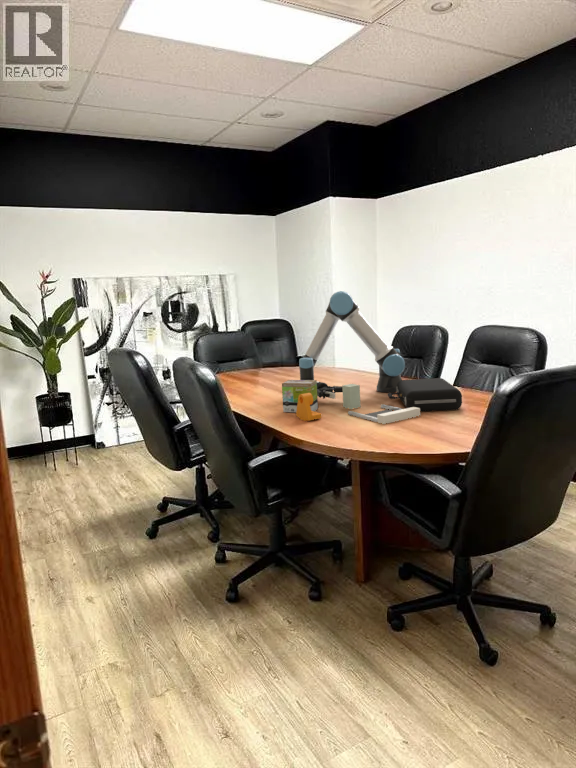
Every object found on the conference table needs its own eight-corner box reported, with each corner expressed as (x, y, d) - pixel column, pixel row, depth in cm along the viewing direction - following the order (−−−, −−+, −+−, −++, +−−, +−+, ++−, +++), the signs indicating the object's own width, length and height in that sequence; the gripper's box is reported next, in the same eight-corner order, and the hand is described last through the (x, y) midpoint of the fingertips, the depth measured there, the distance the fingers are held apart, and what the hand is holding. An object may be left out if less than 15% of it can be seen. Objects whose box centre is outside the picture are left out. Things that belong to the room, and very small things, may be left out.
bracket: (322, 419, 245) (320, 393, 243) (308, 422, 241) (307, 395, 239) (310, 415, 254) (308, 390, 252) (296, 418, 251) (295, 392, 249)
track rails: (383, 407, 262) (383, 404, 261) (413, 414, 244) (413, 411, 243) (348, 414, 251) (347, 411, 251) (377, 422, 233) (377, 419, 233)
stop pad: (387, 410, 255) (387, 409, 255) (409, 415, 242) (409, 414, 242) (360, 415, 247) (360, 415, 247) (382, 421, 235) (381, 420, 235)
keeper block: (353, 405, 270) (352, 383, 268) (360, 407, 265) (359, 385, 263) (343, 407, 267) (342, 385, 265) (350, 409, 262) (349, 386, 260)
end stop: (413, 414, 244) (413, 406, 243) (420, 415, 240) (420, 408, 240) (377, 422, 233) (377, 414, 233) (383, 424, 230) (383, 416, 229)
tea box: (282, 412, 263) (280, 382, 261) (289, 408, 273) (288, 379, 270) (312, 413, 258) (310, 382, 256) (318, 408, 267) (317, 379, 265)
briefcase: (384, 398, 283) (383, 379, 281) (445, 395, 281) (445, 376, 280) (393, 414, 248) (393, 393, 246) (464, 411, 246) (464, 389, 244)
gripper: (337, 392, 292) (364, 397, 275) (299, 399, 278) (326, 405, 261) (336, 378, 291) (363, 382, 274) (299, 385, 277) (325, 390, 260)
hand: (345, 393), depth 267 cm, fingers open, 13 cm apart
